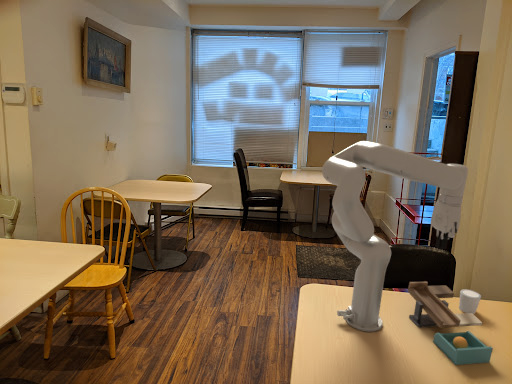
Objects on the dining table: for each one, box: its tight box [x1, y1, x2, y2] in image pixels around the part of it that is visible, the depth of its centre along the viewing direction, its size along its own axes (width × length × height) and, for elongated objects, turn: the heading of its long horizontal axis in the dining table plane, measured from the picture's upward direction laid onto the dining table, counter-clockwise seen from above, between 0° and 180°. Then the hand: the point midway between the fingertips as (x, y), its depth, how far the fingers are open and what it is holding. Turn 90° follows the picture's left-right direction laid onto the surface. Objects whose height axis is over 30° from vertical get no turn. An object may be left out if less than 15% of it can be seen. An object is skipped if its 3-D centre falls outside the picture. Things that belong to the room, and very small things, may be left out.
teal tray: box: [432, 330, 493, 366], centre depth 116 cm, size 12×11×5 cm
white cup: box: [458, 288, 482, 315], centre depth 141 cm, size 7×7×7 cm
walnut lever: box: [407, 281, 483, 329], centre depth 131 cm, size 16×20×4 cm
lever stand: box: [408, 299, 449, 328], centre depth 132 cm, size 12×6×8 cm, turn 99°
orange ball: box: [453, 337, 468, 349], centre depth 117 cm, size 4×4×4 cm
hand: (440, 248), depth 134 cm, fingers closed
